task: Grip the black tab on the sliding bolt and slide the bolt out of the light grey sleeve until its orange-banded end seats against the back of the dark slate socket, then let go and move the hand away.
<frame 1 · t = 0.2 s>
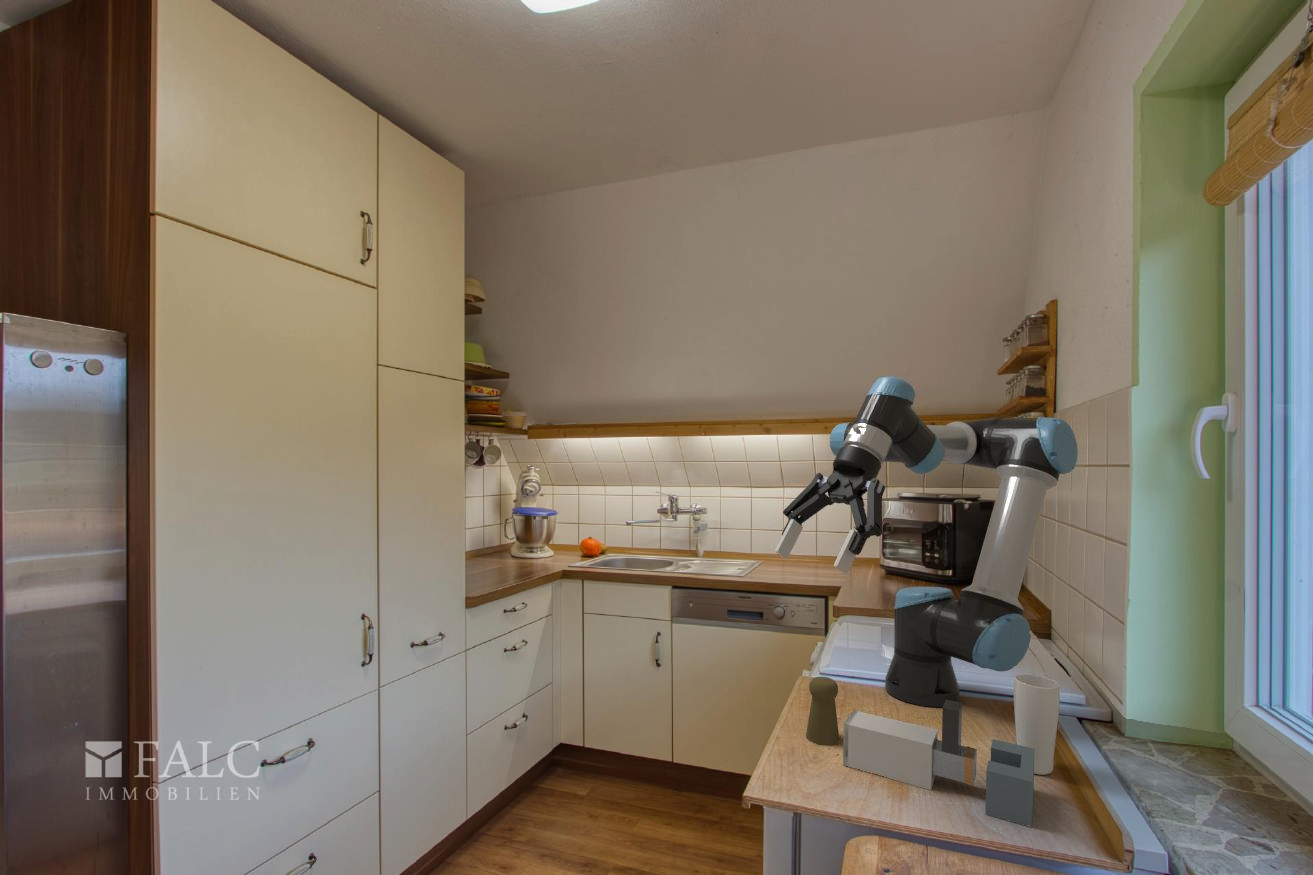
hand: (808, 562, 108), 35 cm above the table, tool tilted 35°, fingers open, 13 cm apart
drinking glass: (1034, 769, 112), on the table
socket: (1003, 799, 102), on the table
sliding bolt: (915, 730, 108), point 7 cm above the table, slide at 0.0 cm
sleeve: (889, 768, 111), on the table
olive knob-topped post: (822, 738, 122), on the table
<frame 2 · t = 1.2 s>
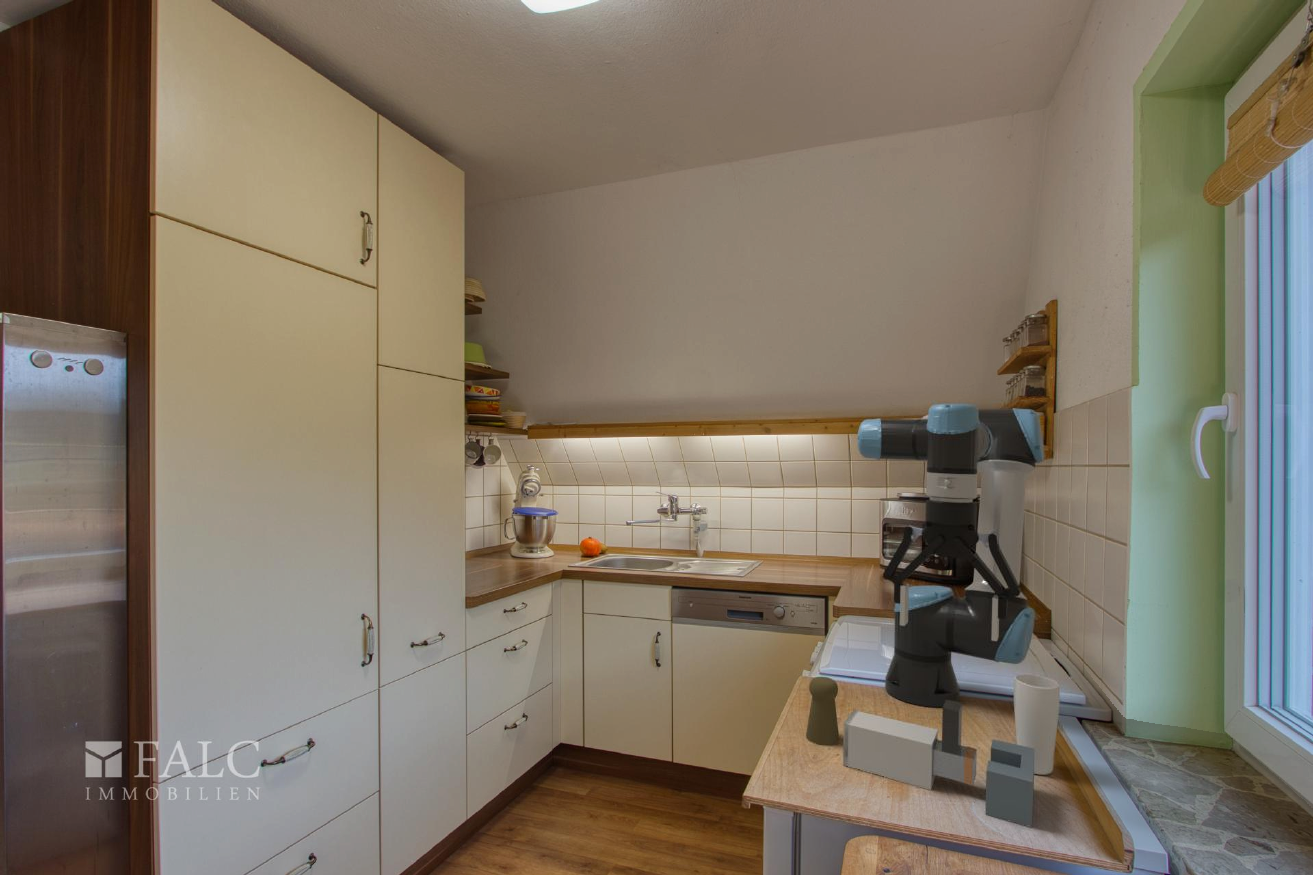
hand: (947, 631, 106), 25 cm above the table, tool pointing down, fingers open, 13 cm apart
nothing on the table moved.
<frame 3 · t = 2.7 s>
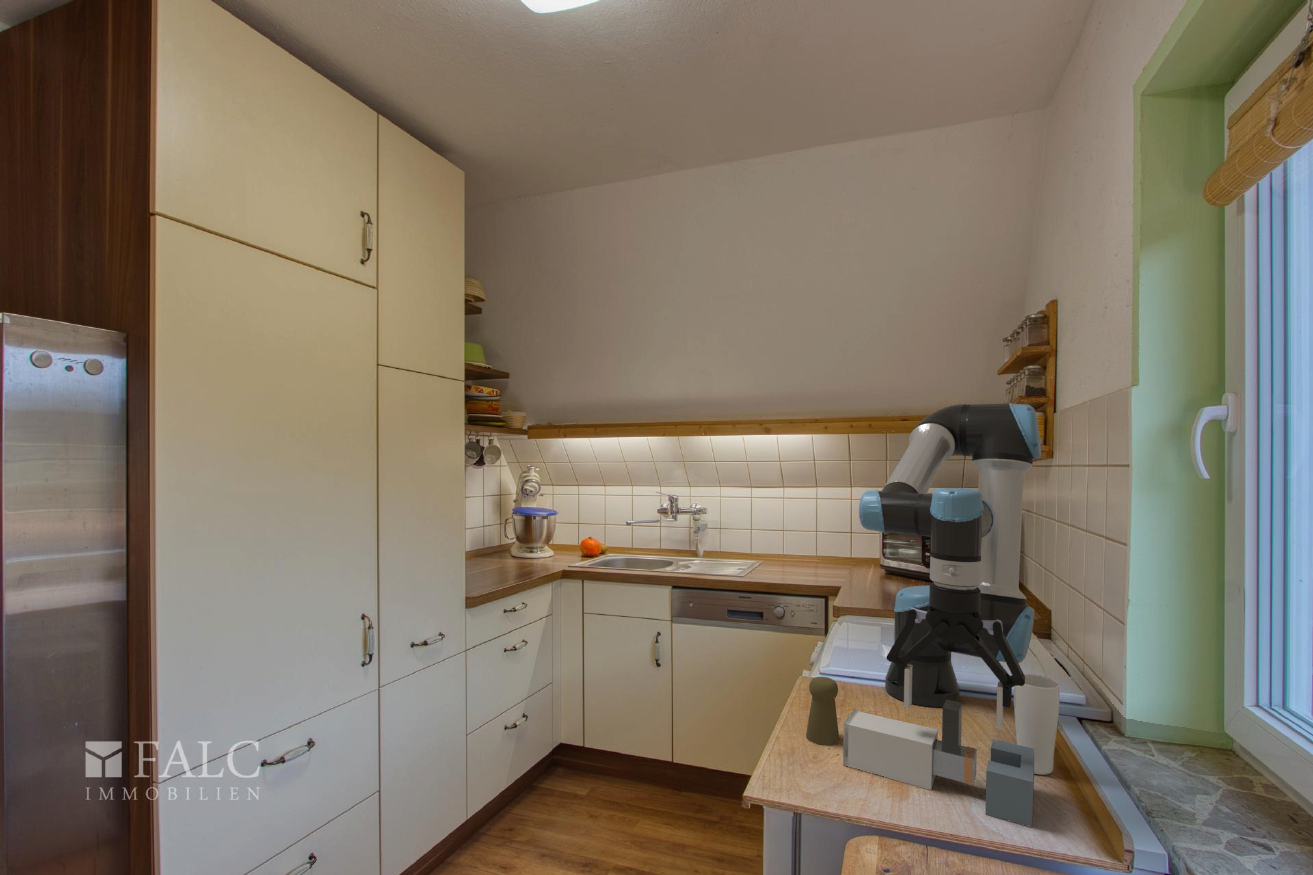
hand: (952, 715, 106), 11 cm above the table, tool pointing down, fingers open, 13 cm apart
nothing on the table moved.
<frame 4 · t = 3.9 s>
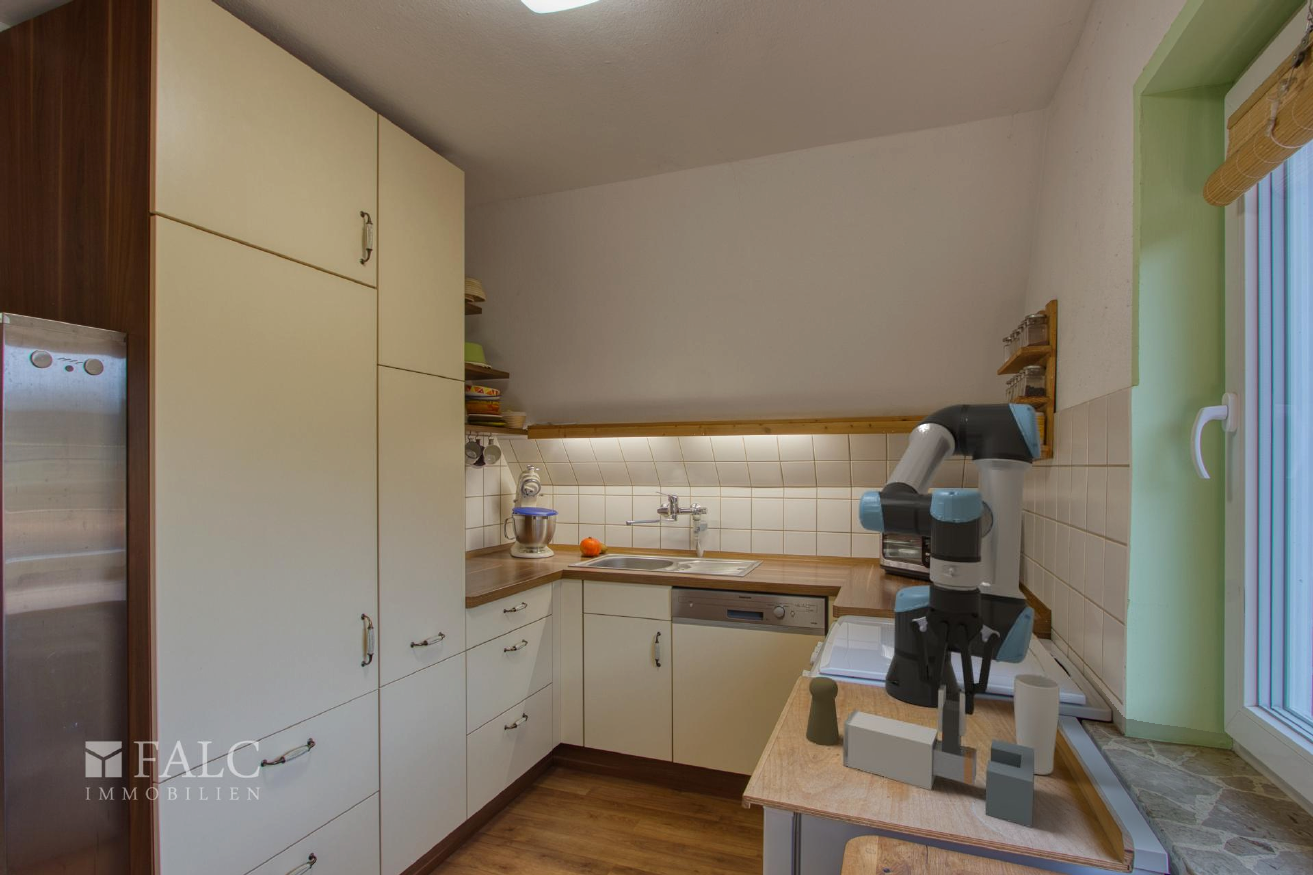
hand: (951, 729, 106), 9 cm above the table, tool pointing down, fingers closed on sliding bolt, 2 cm apart
sliding bolt: (915, 730, 108), point 7 cm above the table, slide at 0.0 cm, touching gripper
everything else where it was.
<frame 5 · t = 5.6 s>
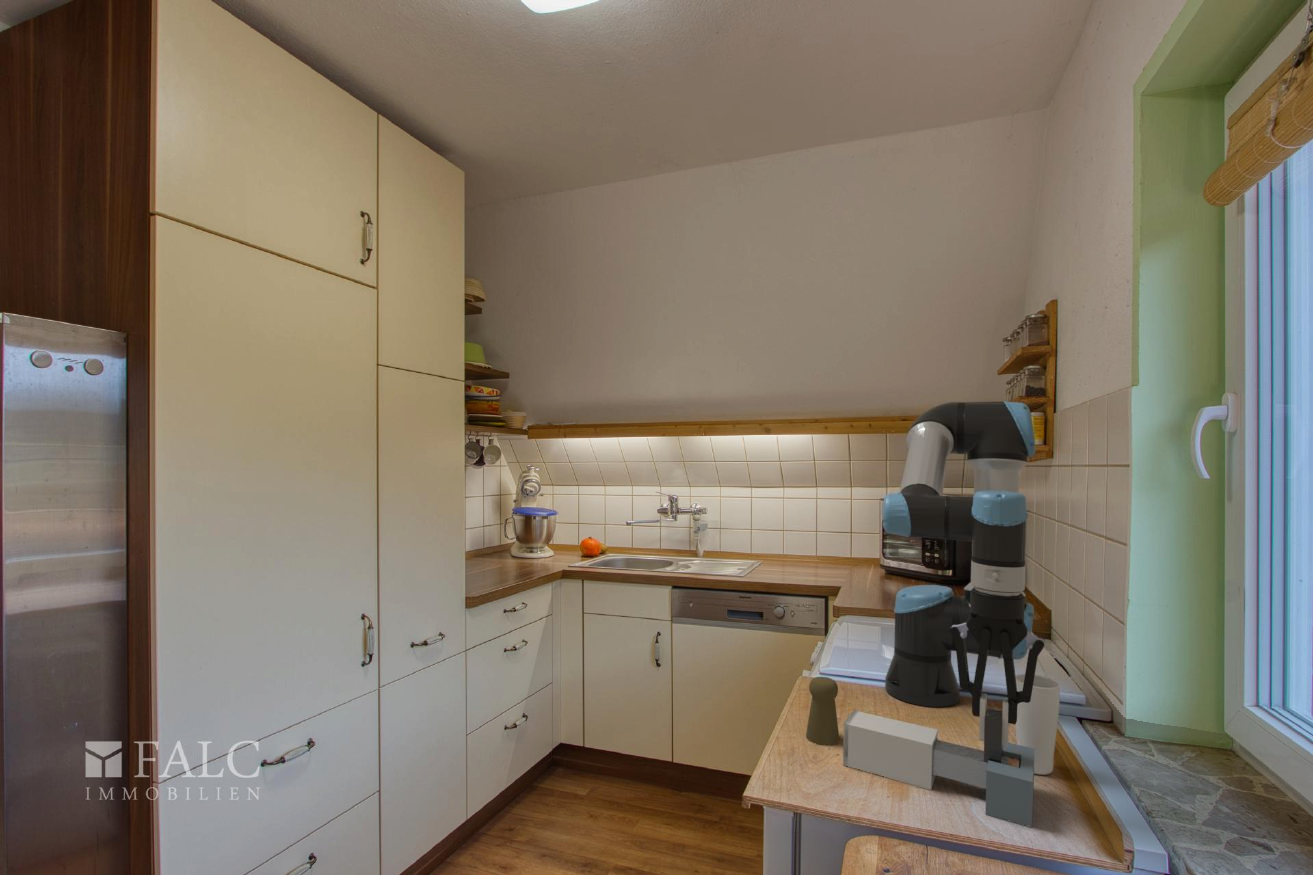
hand: (993, 739, 103), 9 cm above the table, tool pointing down, fingers closed on sliding bolt, 2 cm apart
sliding bolt: (955, 740, 105), point 7 cm above the table, slide at 6.0 cm, touching gripper
everything else where it was.
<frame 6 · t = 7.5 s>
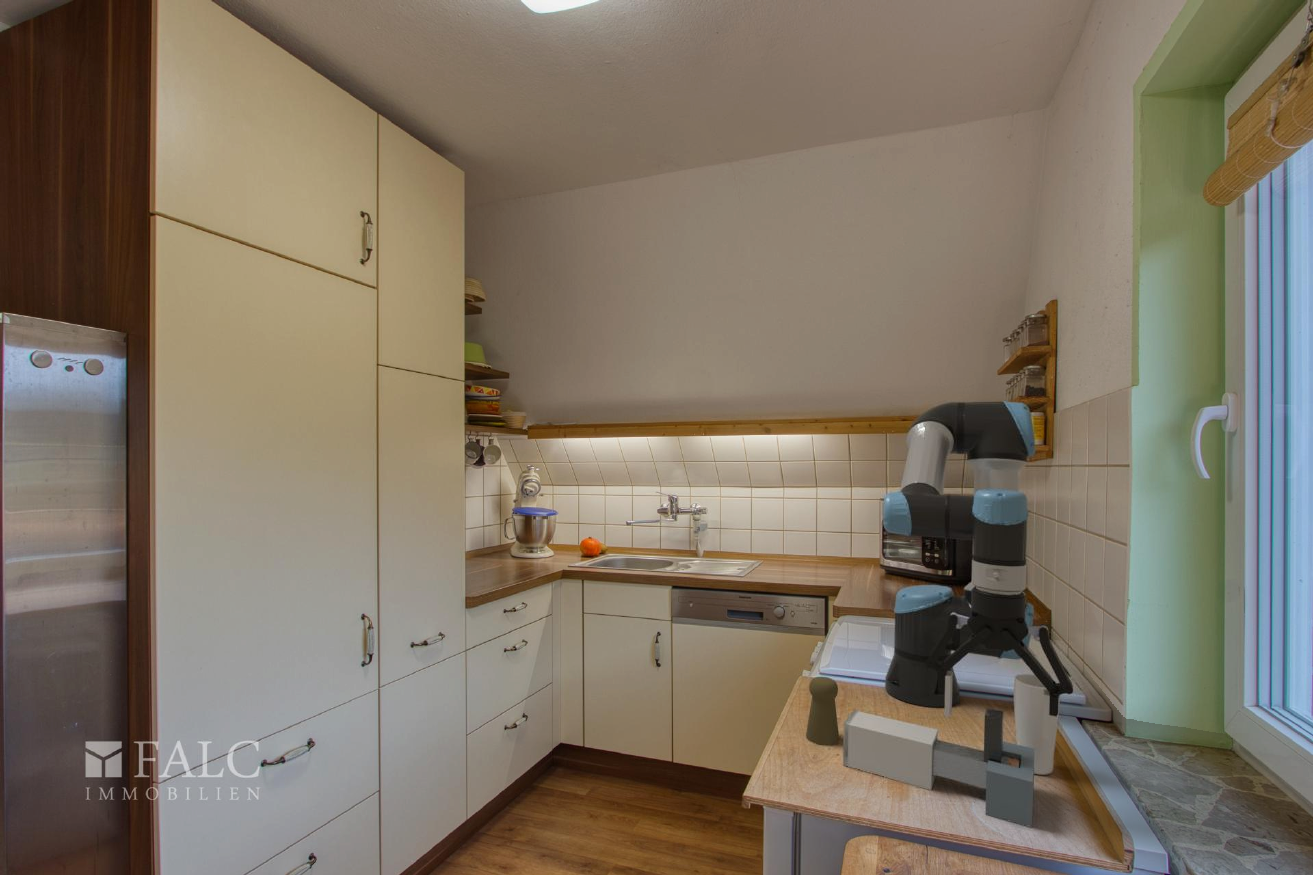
hand: (995, 724, 102), 11 cm above the table, tool pointing down, fingers open, 13 cm apart
sliding bolt: (955, 740, 105), point 7 cm above the table, slide at 6.0 cm
everything else where it was.
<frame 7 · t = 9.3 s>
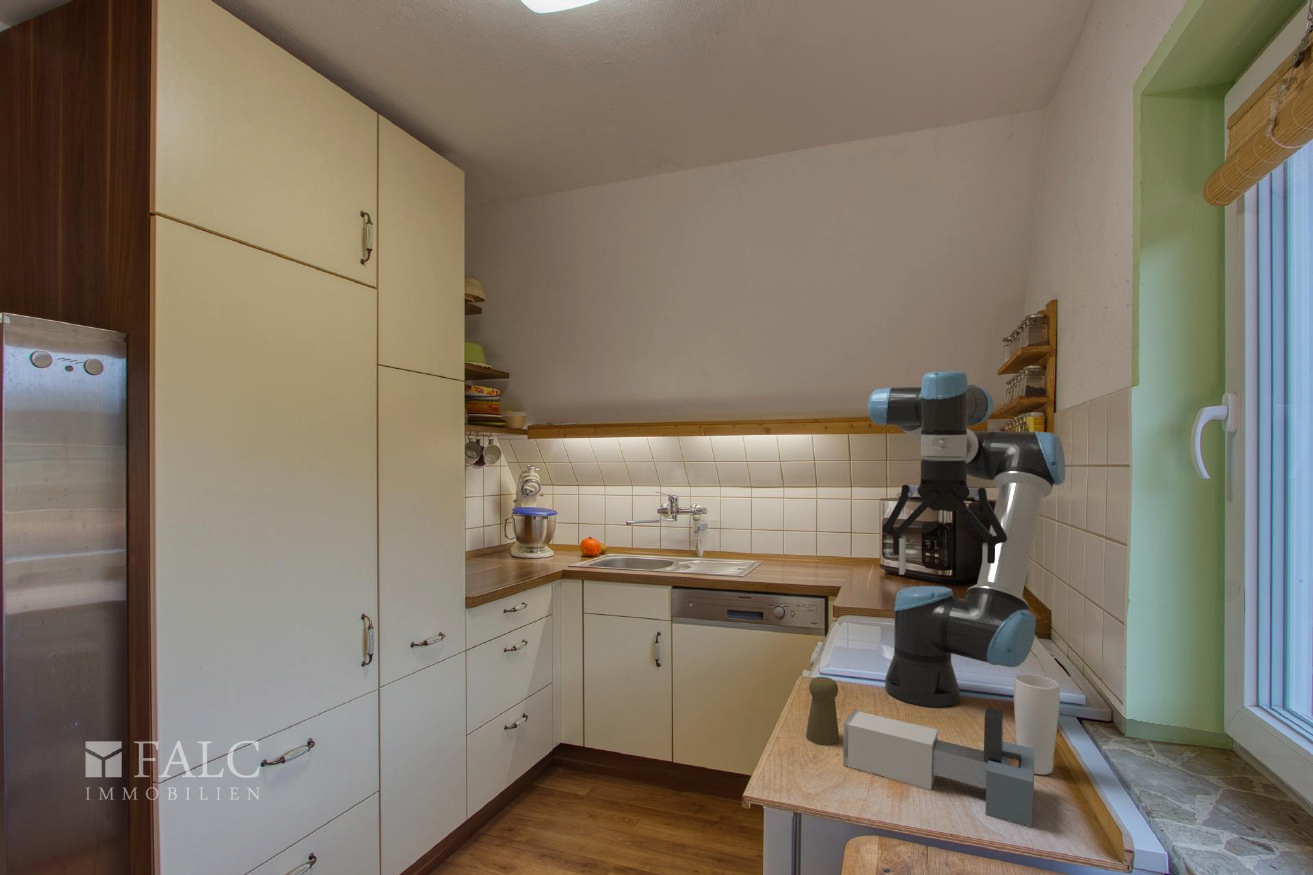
hand: (942, 577, 117), 31 cm above the table, tool pointing down, fingers open, 13 cm apart
nothing on the table moved.
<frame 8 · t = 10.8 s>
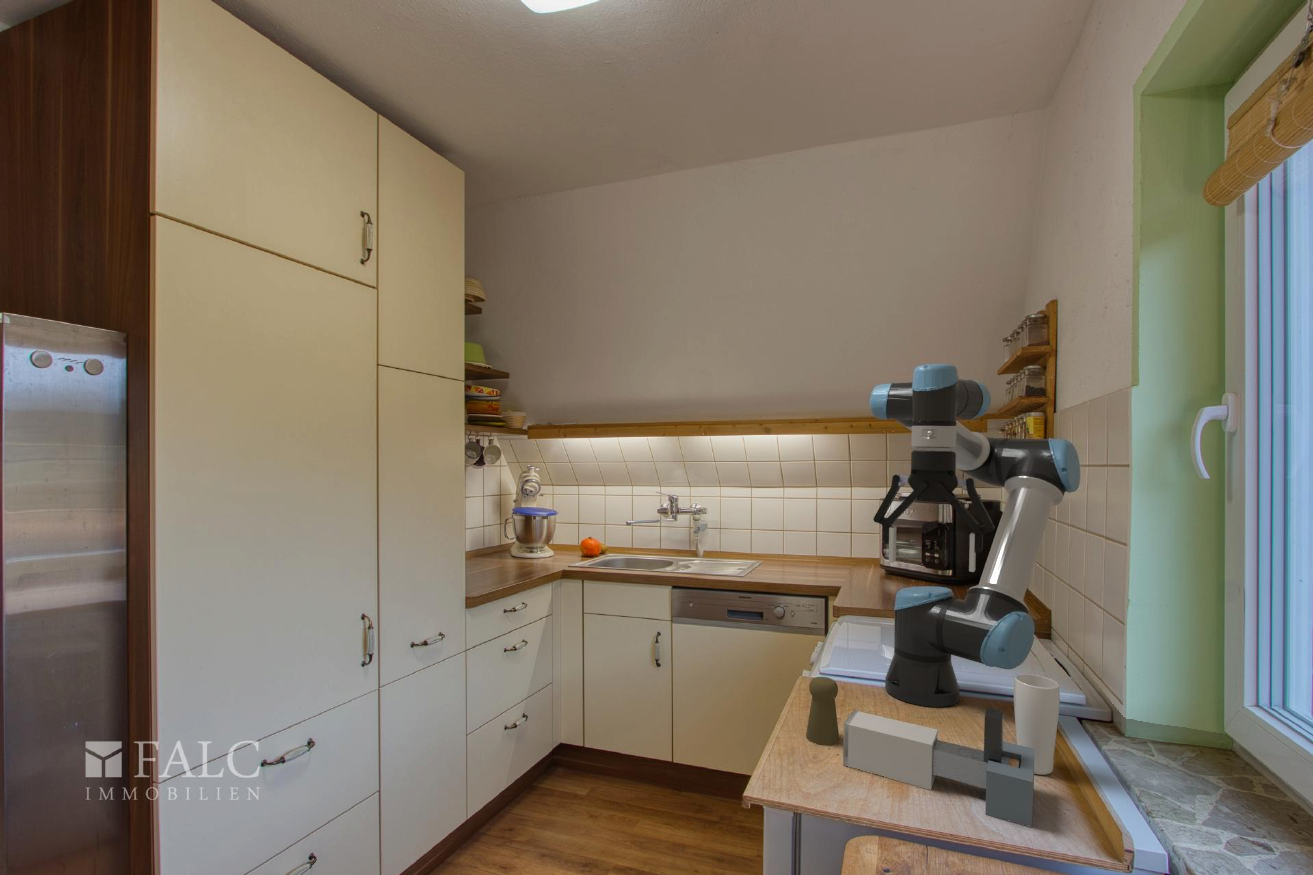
hand: (931, 566, 119), 33 cm above the table, tool pointing down, fingers open, 13 cm apart
nothing on the table moved.
at the end: sliding bolt slide at 6.0 cm; the gripper is holding nothing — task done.
